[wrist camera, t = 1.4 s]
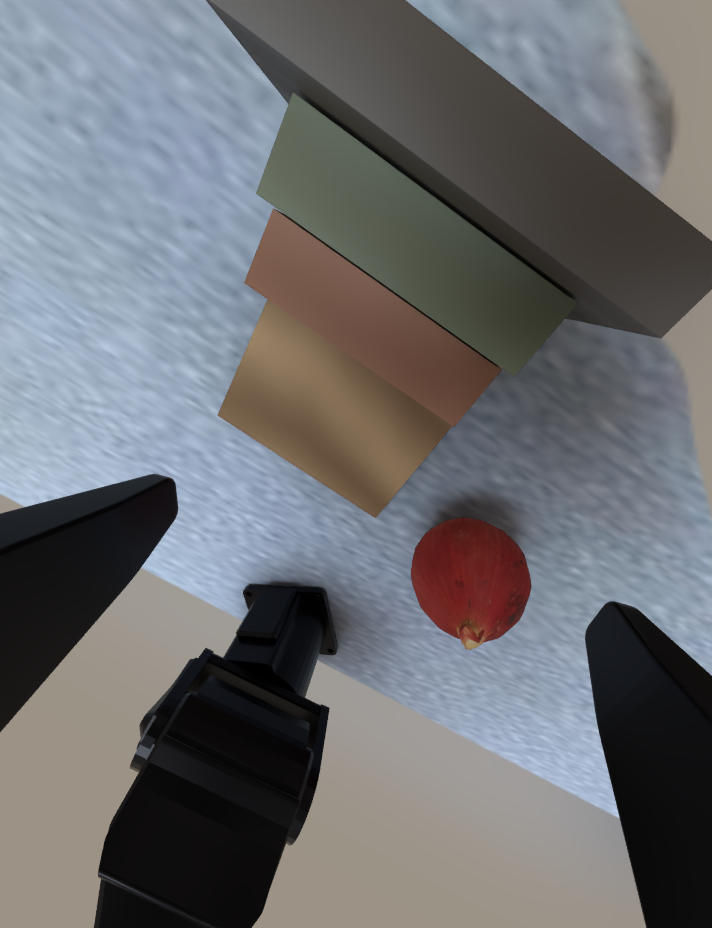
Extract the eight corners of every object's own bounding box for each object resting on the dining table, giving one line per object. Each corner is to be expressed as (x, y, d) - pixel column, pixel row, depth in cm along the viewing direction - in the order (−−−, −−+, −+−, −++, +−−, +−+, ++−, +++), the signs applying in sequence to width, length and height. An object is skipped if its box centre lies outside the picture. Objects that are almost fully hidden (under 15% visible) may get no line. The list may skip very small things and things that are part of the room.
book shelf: (377, 509, 22) (339, 650, 14) (226, 410, 22) (80, 492, 13) (567, 278, 16) (739, 262, 7) (355, 120, 15) (231, -137, 6)
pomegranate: (525, 499, 20) (572, 610, 13) (503, 576, 23) (532, 705, 16) (420, 485, 21) (412, 582, 14) (410, 561, 24) (399, 676, 17)
